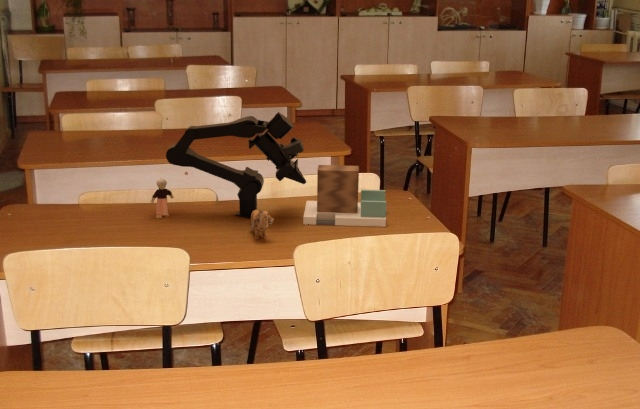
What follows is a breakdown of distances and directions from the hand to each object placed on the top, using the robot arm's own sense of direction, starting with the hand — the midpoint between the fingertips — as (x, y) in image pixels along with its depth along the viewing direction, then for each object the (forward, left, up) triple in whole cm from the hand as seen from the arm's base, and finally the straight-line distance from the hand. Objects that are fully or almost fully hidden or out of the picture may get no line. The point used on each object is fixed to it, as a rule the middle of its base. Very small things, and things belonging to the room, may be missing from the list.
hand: (305, 183), depth 252 cm
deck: (+4, -12, -11) cm, 17 cm away
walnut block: (+4, -10, -9) cm, 14 cm away
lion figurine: (-21, +6, -11) cm, 24 cm away
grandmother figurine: (-19, +41, -11) cm, 47 cm away
